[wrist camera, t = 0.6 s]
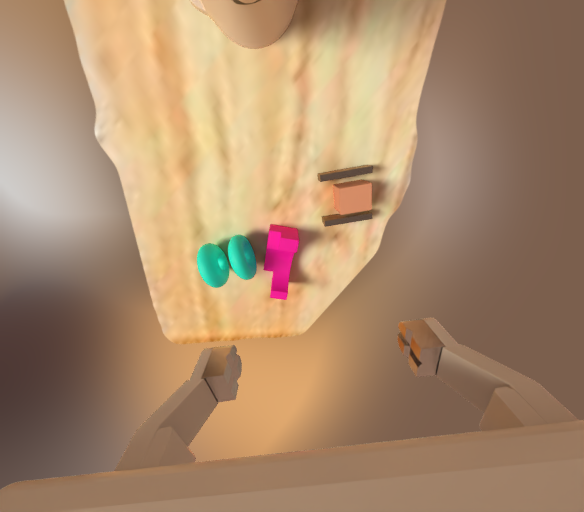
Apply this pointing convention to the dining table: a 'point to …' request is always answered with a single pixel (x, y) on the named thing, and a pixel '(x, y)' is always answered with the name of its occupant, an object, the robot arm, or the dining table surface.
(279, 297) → the toy block
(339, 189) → the terracotta block
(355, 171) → the guide channel
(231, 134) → the dining table surface
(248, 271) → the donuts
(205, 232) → the dining table surface
